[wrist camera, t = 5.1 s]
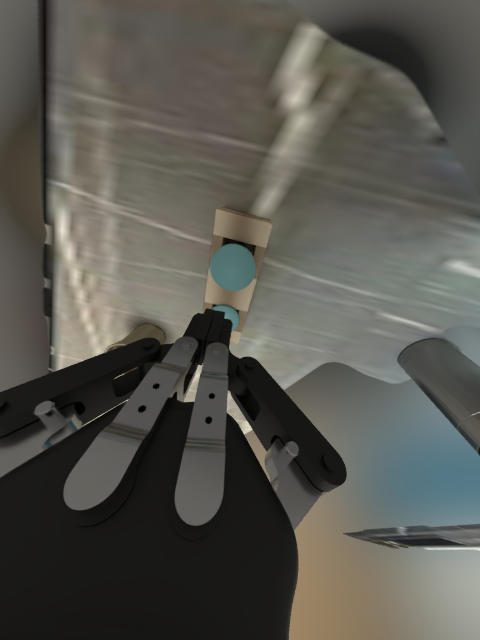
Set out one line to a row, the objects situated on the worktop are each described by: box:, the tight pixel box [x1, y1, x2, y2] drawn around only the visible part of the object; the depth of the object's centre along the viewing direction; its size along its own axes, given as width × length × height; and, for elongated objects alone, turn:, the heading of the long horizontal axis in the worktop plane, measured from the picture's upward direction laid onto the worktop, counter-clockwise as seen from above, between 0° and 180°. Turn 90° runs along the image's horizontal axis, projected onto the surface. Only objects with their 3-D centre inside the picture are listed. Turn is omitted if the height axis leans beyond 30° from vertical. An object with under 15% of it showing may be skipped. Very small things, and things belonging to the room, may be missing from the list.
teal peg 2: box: [211, 304, 239, 331], centre depth 32 cm, size 5×5×7 cm
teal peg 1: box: [210, 243, 256, 291], centre depth 23 cm, size 5×5×7 cm
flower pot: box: [104, 324, 165, 375], centre depth 37 cm, size 9×9×9 cm
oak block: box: [203, 208, 273, 344], centre depth 29 cm, size 7×20×6 cm, turn 167°
